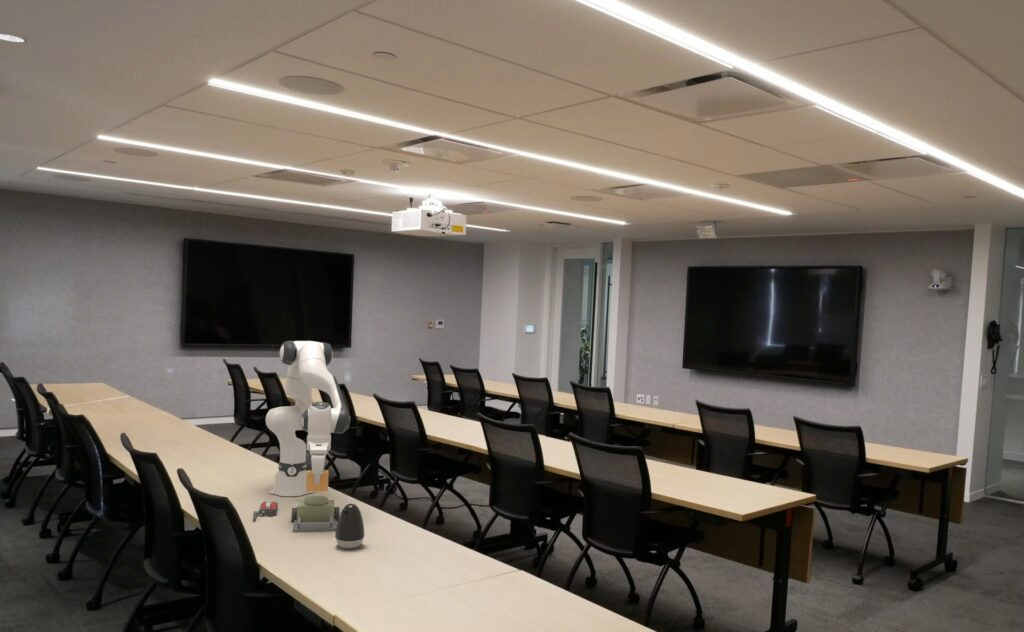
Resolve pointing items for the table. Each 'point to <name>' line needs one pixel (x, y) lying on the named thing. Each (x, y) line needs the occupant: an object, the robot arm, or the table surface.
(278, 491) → the robot arm
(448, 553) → the table surface
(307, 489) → the orange cardboard box
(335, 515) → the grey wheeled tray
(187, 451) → the table surface
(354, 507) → the pump dispenser
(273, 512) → the walkie-talkie
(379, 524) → the table surface
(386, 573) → the table surface
